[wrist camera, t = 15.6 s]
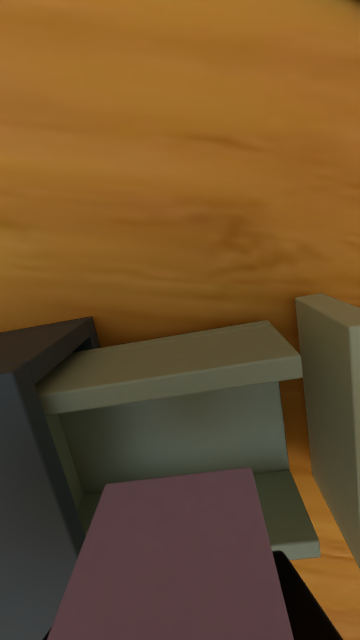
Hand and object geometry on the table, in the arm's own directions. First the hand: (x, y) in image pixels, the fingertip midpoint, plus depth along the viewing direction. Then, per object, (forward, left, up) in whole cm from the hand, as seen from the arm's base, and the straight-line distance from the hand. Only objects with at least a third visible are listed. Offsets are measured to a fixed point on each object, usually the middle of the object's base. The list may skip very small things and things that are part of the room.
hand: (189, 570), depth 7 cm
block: (0, 0, -1) cm, 1 cm away
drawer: (-2, 0, -7) cm, 8 cm away
